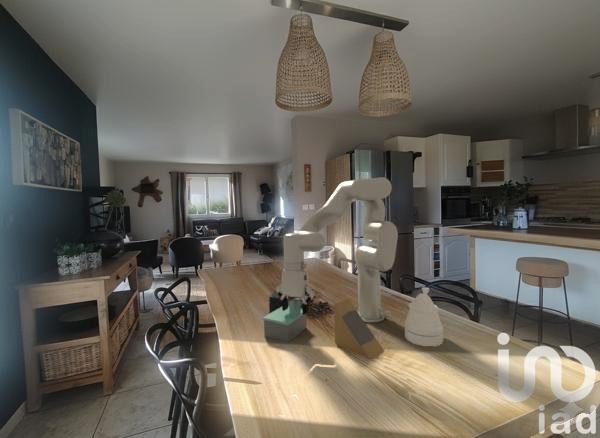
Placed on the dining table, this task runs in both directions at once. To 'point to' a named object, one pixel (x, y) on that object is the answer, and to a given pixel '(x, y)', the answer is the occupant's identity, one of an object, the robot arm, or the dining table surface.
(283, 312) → the lid
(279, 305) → the small box
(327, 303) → the dining table surface
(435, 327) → the honey pot
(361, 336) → the sandwich container
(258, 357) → the dining table surface
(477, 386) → the dining table surface
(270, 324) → the tub
